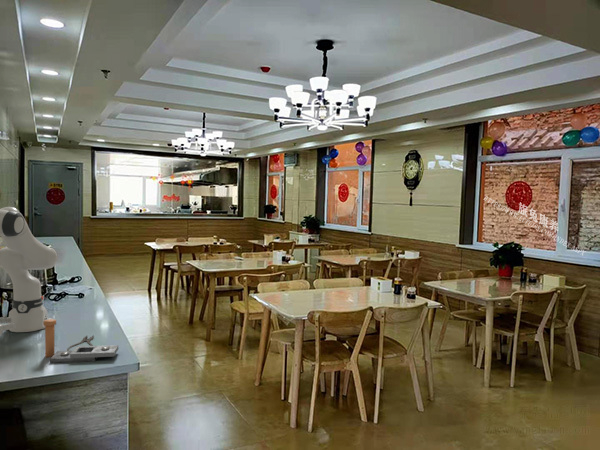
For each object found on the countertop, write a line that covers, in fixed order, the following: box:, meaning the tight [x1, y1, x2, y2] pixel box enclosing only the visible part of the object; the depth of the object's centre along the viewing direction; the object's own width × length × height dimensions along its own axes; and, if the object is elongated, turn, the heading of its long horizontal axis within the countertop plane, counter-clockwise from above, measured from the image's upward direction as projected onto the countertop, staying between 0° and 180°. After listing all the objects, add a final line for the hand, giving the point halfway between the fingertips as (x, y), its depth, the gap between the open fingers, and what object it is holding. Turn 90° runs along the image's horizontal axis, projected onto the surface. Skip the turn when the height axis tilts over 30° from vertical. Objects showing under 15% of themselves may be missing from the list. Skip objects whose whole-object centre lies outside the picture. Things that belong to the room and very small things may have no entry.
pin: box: [43, 318, 57, 358], centre depth 177 cm, size 4×4×14 cm
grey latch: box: [49, 344, 119, 364], centre depth 177 cm, size 9×23×4 cm, turn 102°
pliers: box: [66, 335, 95, 351], centre depth 193 cm, size 10×1×20 cm
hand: (13, 322), depth 169 cm, fingers open, 8 cm apart
